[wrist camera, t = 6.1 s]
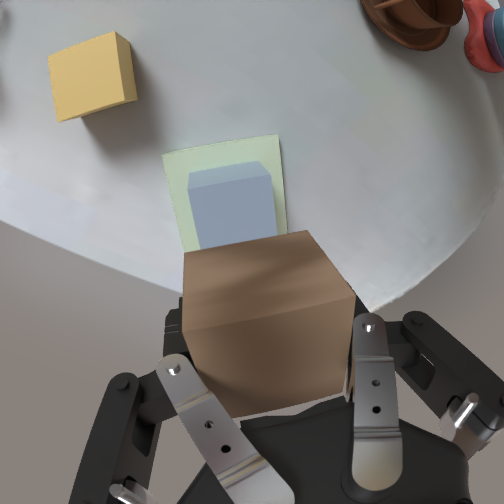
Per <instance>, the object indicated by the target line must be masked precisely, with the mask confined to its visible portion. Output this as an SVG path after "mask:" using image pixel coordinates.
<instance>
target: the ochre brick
mask: <svg viewBox="0 0 504 504" xmlns="http://www.w3.org/2000/svg"><path fill="white" fill-rule="evenodd" d="M48 63H49V71H50V79H51V86H52V92H53V99H54V104H55V110H56V115H57V121H58V122H62V121H66V120H70V119H75V118H79V117H82V116H85V115H88V114H91V113H94V112H98V111H101V110H104V109H107V108H110V107H114V106H117V105H121V104H124V103H128V102H132V101H135V100H138V97H137V91H136V84H135V78H134V71H133V65H132V58H131V50H130V42H129V41H127V40H126V39H125V38H123V37H122V36H121V35H119V34H118V33H117V32H116V31H114V32H110V33H107V34H104V35H101V36H98V37H95V38H93V39H90V40H87V41H84V42H82V43H79V44H76V45H74V46H71V47H69V48H66V49H64V50H62V51H59V52H57V53H55V54H52V55H50V56H48Z"/></svg>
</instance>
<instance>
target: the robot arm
mask: <svg viewBox="0 0 504 504" xmlns="http://www.w3.org/2000/svg"><path fill="white" fill-rule="evenodd" d="M346 282H347V281H346ZM347 284H348V285H349V283H348V282H347ZM349 286H350V285H349ZM350 288H351V286H350ZM351 289H352V288H351ZM353 292H354V290H353ZM354 293H355V292H354ZM355 295H356V293H355ZM182 304H183V297H180V298H179V308H178V309H172V310H170V311H169V313H168V315H167V316H166V320H165V334H164V348H163V358H162V359H161V360H160V361H159V362H158V364H157V366H156V370H154V371H153V372H151V373H149V374H147V375H144V376H142V377H139V378H137V377H136V376H135V375H134V374H132V373H121V374H118V375H116V376H115V377H114V378H112V379H111V381H110V382H109V384H108V387H107V389H106V392H105V394H104V397H103V399H102V402H101V405H100V407H99V410H98V413H97V416H96V418H95V421H94V424H93V427H92V430H91V432H90V436H89V439H88V441H87V444H86V447H85V451H84V453H83V456H82V460H81V463H80V466H79V469H78V472H77V476H76V479H75V482H74V486H73V489H72V493H71V496H70V500H69V504H158V502H157V499H156V497H155V496H154V495H153V494H152V493H151V492H149V491H148V485H149V480H150V475H151V471H152V466H153V461H154V456H155V451H156V447H157V442H158V438H159V433H160V429H161V424H162V421H164V420H167V419H169V418H172V417H174V416H176V415H178V416H179V418H180V419H181V421H182V423H183V425H184V426H185V428H186V430H187V431H188V433H189V435H190V436H191V438H192V440H193V441H194V443H195V445H196V446H197V448H198V450H199V451H200V453H201V454H202V456H203V458H204V459H205V460H206V463H205V464H204V466H203V467H202V468H201V470H200V472H199V473H198V474H197V476H196V477H195V479H194V480H193V482H192V483H191V484H190V486H189V487H188V489H187V490H186V491H185V493H184V494H183V496H182V497H181V498H180V500H179V501H178V502H177V504H473V502H472V500H471V498H470V493H469V487H468V472H469V469H468V468H469V467H468V460H469V459H470V458H471V457H472V456H473V455H474V454H475V453H476V452H477V451H480V450H482V449H483V448H484V447H485V446H486V445H487V444H488V443H490V442H491V440H493V438H494V437H496V435H497V434H498V433H499V432H500V431H501V430H502V429H503V428H504V382H503V381H502V380H501V379H500V378H499V377H498V376H497V375H496V374H495V373H494V372H493V371H492V370H491V369H490V368H488V367H487V366H486V365H485V364H484V363H483V362H482V361H481V360H480V359H478V358H477V357H476V356H475V355H474V354H473V353H472V352H471V351H469V350H468V349H467V348H466V347H465V346H464V345H462V344H461V343H460V342H459V341H458V340H457V339H456V338H454V337H453V336H452V335H451V334H450V333H449V332H447V331H446V330H445V329H444V328H443V327H441V326H440V325H439V324H438V323H437V322H435V321H434V320H433V319H432V318H431V317H429V316H428V315H427V314H425V313H423V312H420V311H411V312H408V313H406V314H405V315H404V317H403V321H396V322H395V321H394V322H386V321H384V320H383V319H382V318H381V317H380V316H379V315H376V314H374V313H370V312H369V311H368V310H367V308H366V307H365V305H364V304H363V303H362V301H361V300H360V299H359V297H358V296H357V295H356V300H355V309H354V318H353V326H352V334H351V341H350V348H349V355H348V362H347V383H346V399H345V397H344V396H340V397H337V398H334V399H331V400H327V401H324V402H321V403H318V404H316V405H314V406H313V407H311V408H309V409H307V410H305V411H303V412H301V413H299V414H297V415H293V416H263V417H258V418H254V419H248V420H243V421H240V423H241V428H240V429H239V428H238V426H237V425H236V424H235V422H234V421H233V420H232V418H231V417H230V416H229V414H228V413H227V411H226V410H225V409H224V407H223V406H222V405H221V403H220V402H219V400H218V399H217V398H216V396H215V395H214V393H213V392H212V391H211V390H210V391H209V390H208V389H207V387H206V386H205V384H204V383H203V381H202V380H201V378H200V377H199V375H198V372H197V370H196V367H195V365H194V362H193V360H192V357H191V355H190V352H189V349H188V347H187V344H186V341H185V339H184V336H183V333H182ZM422 354H423V355H424V356H425V357H426V358H427V359H428V360H429V361H430V362H431V363H432V364H433V365H434V366H433V365H432V364H431V363H430V362H429V361H428V360H427V359H426V358H425V357H423V355H422ZM395 371H396V372H397V373H398V374H399V375H400V376H401V377H402V379H403V380H404V381H405V382H406V383H407V384H408V385H409V386H410V387H411V388H412V389H413V390H414V392H415V393H416V394H417V395H418V396H419V397H420V398H421V399H422V400H423V401H424V402H425V403H426V404H427V406H428V407H429V408H430V409H431V410H432V411H433V412H434V413H435V414H436V415H437V416H438V418H439V419H440V430H441V435H442V437H443V438H442V437H439V436H437V435H435V434H432V433H430V432H428V431H425V430H423V429H421V428H419V427H416V426H414V425H412V424H410V423H408V422H406V421H403V420H401V419H399V417H398V401H397V388H396V377H395ZM444 438H445V439H444Z"/></svg>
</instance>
